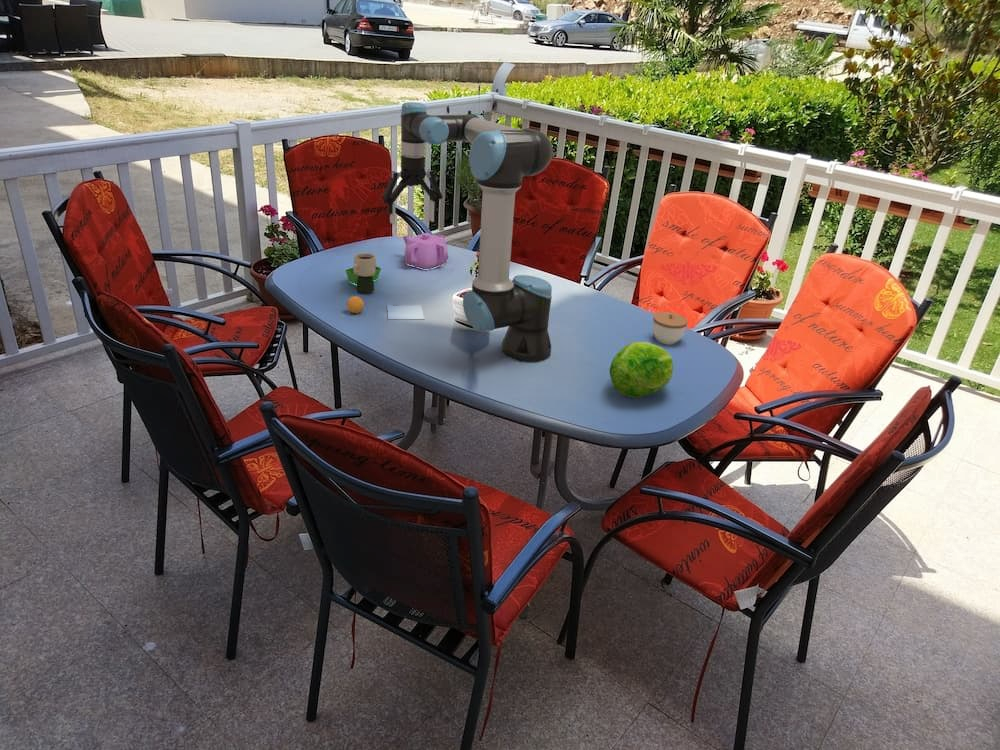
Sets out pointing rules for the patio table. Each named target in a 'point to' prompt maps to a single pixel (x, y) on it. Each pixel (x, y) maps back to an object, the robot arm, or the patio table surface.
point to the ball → (355, 304)
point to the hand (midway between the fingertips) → (412, 222)
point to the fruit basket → (353, 277)
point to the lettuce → (641, 369)
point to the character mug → (364, 271)
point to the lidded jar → (668, 327)
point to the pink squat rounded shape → (425, 250)
